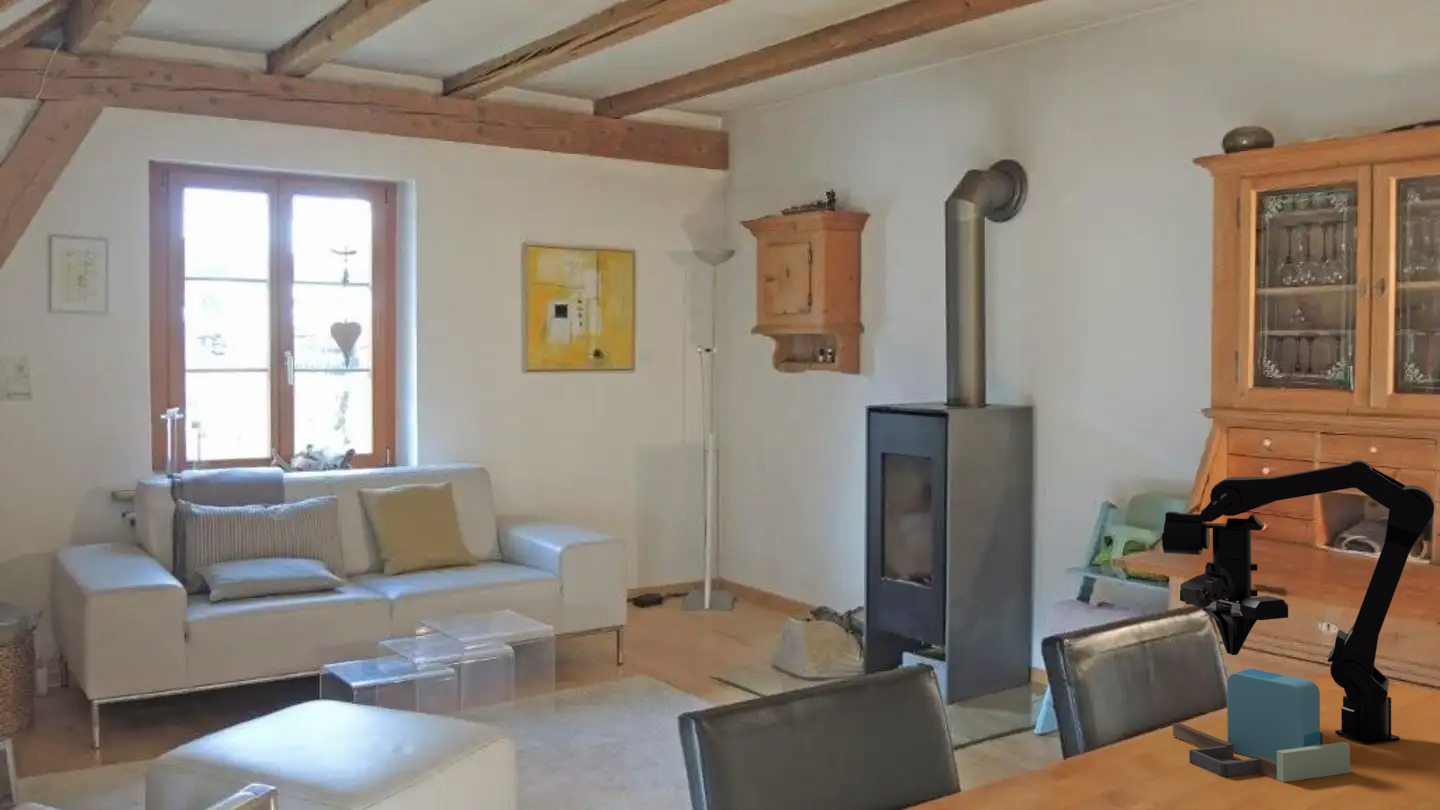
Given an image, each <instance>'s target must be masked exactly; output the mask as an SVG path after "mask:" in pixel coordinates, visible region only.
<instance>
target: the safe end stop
mask: <svg viewBox="0 0 1440 810" xmlns="http://www.w3.org/2000/svg"><path fill="white" fill-rule="evenodd" d="M1350 752H1351V751H1350V743H1347V742H1344V741H1341V742H1340V741H1339V742H1333V743H1324V744H1323V745H1317V746H1309V747H1302V748H1294V749H1287V750H1279V751H1277V779H1276V781H1279V782H1282V783H1288V782H1294V781H1300V780H1301V781H1302V780H1307V779H1308V780H1309V779H1315V778H1323V777H1329V776H1336V775H1337V776H1338V775H1343V774H1350V772H1351V771H1350V770H1351V769H1350V766H1351V763H1350V760H1351V759H1350V755H1351V754H1350Z"/></svg>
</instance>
